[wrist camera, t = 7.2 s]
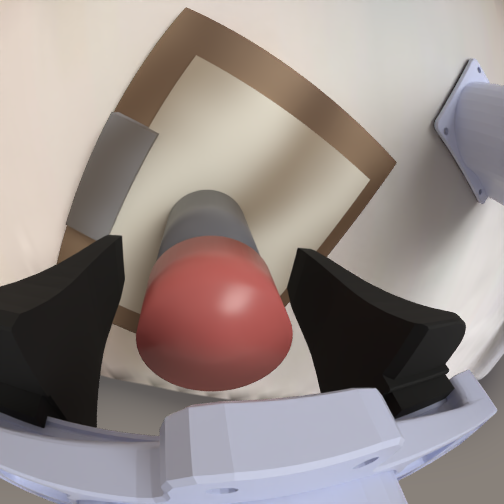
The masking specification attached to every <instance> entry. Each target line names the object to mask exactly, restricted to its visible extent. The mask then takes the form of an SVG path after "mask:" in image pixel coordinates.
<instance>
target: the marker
mask: <svg viewBox="0 0 504 504" xmlns="http://www.w3.org/2000/svg"><path fill="white" fill-rule="evenodd" d="M292 335H293V331H292V325H291V322H290V319H289V317H288V314H287V312H286V310H285V307H284V305H283V302H282V300H281V297H280V295H279V293H278V290H277V288H276V285H275V283H274V280H273V278H272V276H271V273H270V271H269V268H268V266H267V264H266V263H265V261H264V260H263V259H262V257H261V256H260V254H259V251H258V249H257V246H256V244H255V241H254V239H253V236H252V234H251V231H250V229H249V226H248V224H247V221H246V219H245V216H244V214H243V211H242V209H241V208H240V206H239V205H238V203H237V202H236V201H235V200H234V199H233V198H231V197H230V196H228V195H226V194H225V193H222V192H219V191H215V190H198V191H195V192H192V193H189V194H187V195H186V196H184V197H182V198H181V199H180V200H179V201H178V202H177V203H176V204H175V205H174V207H173V208H172V210H171V212H170V214H169V217H168V220H167V224H166V227H165V231H164V234H163V238H162V241H161V245H160V249H159V252H158V256H157V260H156V263H155V264H154V266H153V268H152V270H151V273H150V276H149V280H148V284H147V288H146V292H145V296H144V300H143V305H142V309H141V313H140V318H139V323H138V327H137V332H136V343H137V348H138V351H139V354H140V356H141V358H142V360H143V361H144V362H145V364H146V365H147V366H148V367H149V368H150V369H151V370H152V371H153V372H154V373H155V374H156V375H158V376H159V377H161V378H162V379H164V380H166V381H168V382H170V383H172V384H175V385H177V386H180V387H183V388H187V389H192V390H199V391H224V390H231V389H235V388H240V387H243V386H246V385H249V384H251V383H254V382H256V381H258V380H260V379H262V378H263V377H265V376H266V375H268V374H269V373H271V372H272V371H273V370H274V369H276V368H277V367H278V366H279V365H280V363H281V362H282V361H283V360H284V358H285V357H286V355H287V353H288V352H289V349H290V346H291V343H292Z"/></svg>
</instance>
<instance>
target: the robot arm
mask: <svg viewBox="0 0 504 504" xmlns="http://www.w3.org/2000/svg"><path fill="white" fill-rule="evenodd" d="M434 126H435V129H436V131H437V133H438V134H439V136H440V137H441V138H442V140H443V141H444V143H445V144H446V146H447V148H448V149H449V151H450V152H451V154H452V155H453V157H454V159H455V160H456V162H457V164H458V165H459V167H460V169H461V170H462V172H463V174H464V176H465V177H466V179H467V181H468V183H469V185H470V187H471V188H472V190H473V192H474V194H475V196H476V198H477V200H478V202H479V203H481V204H483V203H484V202H485V201H486V199H487V198H488V197H490V198H492V199H493V200H495V201H497V202H499V203H500V204H502V205H504V85H498V84H492V83H490V82H489V81H488V79H487V77H486V75H485V73H484V71H483V70H482V68H481V66H480V64H479V63H478V61H477V60H476V59H470V60H469V62H468V64H467V66H466V68H465V70H464V71H463V73H462V75H461V77H460V79H459V81H458V82H457V84H456V86H455V88H454V90H453V91H452V93H451V95H450V97H449V98H448V100H447V102H446V104H445V105H444V107H443V109H442V110H441V112H440V114H439V115H438V117H437V119H436V120H435V124H434ZM444 129H445V132H444ZM124 282H125V271H124V259H123V242H122V235H106V236H104V237H102V238H100V239H99V240H97V241H95V242H94V243H92V244H90V245H89V246H87V247H86V248H84V249H82V250H81V251H79V252H78V253H76V254H74V255H72V256H71V257H69V258H67V259H65V260H64V261H62V262H60V263H59V264H57V265H55V266H53V267H51V268H49V269H47V270H44V271H42V272H40V273H38V274H36V275H33V276H30V277H28V278H25V279H23V280H20V281H17V282H14V283H11V284H8V285H4V286H1V287H0V478H2V479H3V480H5V481H7V482H9V483H11V484H13V485H15V486H17V487H19V488H21V489H23V490H26V491H28V492H30V493H32V494H35V495H37V496H39V497H42V498H44V499H47V500H49V501H52V502H55V503H57V504H408V503H407V501H406V499H405V497H404V494H403V492H402V489H401V487H400V485H399V482H398V481H399V480H401V479H403V478H405V477H407V476H408V475H410V474H412V473H414V472H416V471H418V470H419V469H421V468H423V467H425V466H426V465H428V464H430V463H431V462H433V461H435V460H436V459H438V458H440V457H441V456H443V455H444V454H446V453H447V452H449V451H450V450H452V449H453V448H455V447H456V446H458V445H459V444H461V443H462V442H463V441H464V440H466V439H467V438H468V437H469V436H471V435H472V434H473V433H474V432H475V431H476V430H477V429H479V428H480V427H481V426H482V425H483V424H484V423H485V422H486V421H488V419H490V418H491V417H492V416H493V415H494V414H495V413H496V412H497V409H496V407H495V406H494V404H493V403H492V401H491V400H490V398H489V397H488V395H487V394H486V392H485V391H484V389H483V388H482V386H481V385H480V384H479V382H478V381H477V379H476V378H475V377H474V375H473V374H472V372H471V371H470V370H466V371H464V372H461V373H459V374H457V375H455V376H453V377H452V378H451V379H450V380H449V379H448V378H447V376H446V375H445V374H447V373H448V372H449V369H448V367H447V366H446V362H447V361H448V360H449V358H450V357H451V356H452V354H453V353H454V351H455V350H456V349H457V347H458V346H459V344H460V343H461V341H462V339H463V337H464V334H465V330H466V325H465V322H464V321H463V320H462V319H461V318H460V317H459V316H458V315H457V314H455V313H453V312H449V311H444V310H439V309H434V308H430V307H427V306H423V305H420V304H417V303H414V302H411V301H408V300H405V299H403V298H400V297H398V296H395V295H393V294H390V293H388V292H386V291H384V290H382V289H380V288H378V287H375V286H373V285H372V284H370V283H368V282H366V281H364V280H363V279H361V278H359V277H357V276H356V275H354V274H352V273H351V272H349V271H347V270H346V269H344V268H343V267H341V266H340V265H338V264H336V263H335V262H333V261H332V260H330V259H329V258H327V257H325V256H324V255H322V254H320V253H319V252H317V251H315V250H313V249H307V248H297V252H296V256H295V260H294V263H293V267H292V271H291V274H290V278H289V282H288V285H287V290H288V295H289V299H290V303H291V307H292V309H293V312H294V314H295V316H296V319H297V321H298V324H299V326H300V328H301V331H302V333H303V335H304V338H305V340H306V342H307V345H308V347H309V350H310V353H311V356H312V359H313V363H314V367H315V370H316V374H317V378H318V383H319V387H320V392H321V393H319V394H312V395H305V396H296V397H287V398H276V399H262V400H244V401H220V402H213V403H205V404H195V405H190V406H188V407H186V408H183V409H181V410H179V411H176V412H174V413H171V414H170V415H168V416H167V417H165V419H164V421H163V423H162V425H161V428H160V436H151V435H142V434H133V433H124V432H118V431H112V430H106V429H100V428H97V400H98V388H99V379H100V371H101V364H102V358H103V353H104V348H105V344H106V340H107V337H108V334H109V331H110V328H111V325H112V322H113V320H114V317H115V314H116V311H117V308H118V305H119V303H120V300H121V296H122V291H123V287H124Z"/></svg>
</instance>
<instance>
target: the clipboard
mask: <svg viewBox="0 0 504 504" xmlns="http://www.w3.org/2000/svg"><path fill="white" fill-rule="evenodd" d="M396 163H397V162H396V161H395V160H394V159H393V158H392V157H391V156H390V155H389V154H388V152H387V151H386V150H385V149H384V148H383V147H382V146H381V145H380V144H379V143H378V142H377V141H376V140H375V139H374V138H373V137H372V136H371V135H370V134H369V133H368V132H367V131H366V130H365V129H364V128H363V127H362V126H361V125H360V124H359V123H357V122H356V121H355V120H354V119H353V118H352V117H351V116H350V115H349V114H348V113H347V112H345V111H344V110H343V109H342V108H341V107H340V106H339V105H337V104H336V103H335V102H334V101H333V100H332V99H330V98H329V97H328V96H327V95H326V94H324V93H323V92H322V91H321V90H320V89H318V88H317V87H316V86H314V85H313V84H312V83H311V82H309V81H308V80H307V79H305V78H304V77H303V76H301V75H300V74H299V73H297V72H296V71H295V70H293V69H292V68H291V67H289V66H288V65H286V64H285V63H283V62H282V61H281V60H279V59H278V58H276V57H275V56H273V55H272V54H270V53H269V52H267V51H266V50H264V49H263V48H261V47H259V46H258V45H256V44H255V43H253V42H251V41H250V40H248V39H246V38H245V37H243V36H241V35H239V34H238V33H236V32H234V31H232V30H231V29H229V28H227V27H225V26H223V25H221V24H220V23H218V22H216V21H214V20H212V19H210V18H208V17H206V16H204V15H202V14H200V13H197V12H195V11H193V10H191V9H189V8H187V7H186V8H185V9H184V10H183V11H182V12H181V13H180V15H179V16H178V17H177V18H176V19H175V21H174V22H173V23H172V24H171V26H170V27H169V28H168V29H167V31H166V32H165V33H164V35H163V36H162V37H161V39H160V40H159V41H158V43H157V44H156V45H155V47H154V48H153V50H152V51H151V52H150V54H149V55H148V57H147V58H146V60H145V61H144V63H143V64H142V66H141V67H140V69H139V70H138V72H137V73H136V75H135V76H134V78H133V80H132V81H131V83H130V85H129V86H128V88H127V90H126V91H125V93H124V95H123V96H122V98H121V100H120V102H119V103H118V105H117V107H116V109H115V111H114V112H112V113H111V114H110V116H109V118H108V120H107V122H106V124H105V126H104V128H103V130H102V132H101V134H100V136H99V139H98V141H97V143H96V145H95V147H94V149H93V152H92V154H91V156H90V159H89V161H88V163H87V166H86V168H85V171H84V173H83V176H82V178H81V181H80V183H79V186H78V189H77V192H76V194H75V197H74V200H73V203H72V206H71V209H70V212H69V215H68V218H67V222H66V225H67V227H66V231H65V234H64V238H63V241H62V245H61V249H60V253H59V257H58V261H57V264H59V263H60V262H62V261H64V260H65V259H67V258H69V257H71V256H72V255H74V254H76V253H78V252H79V251H81V250H82V249H84V248H86V247H87V246H89V245H90V244H92V243H94V242H95V241H97V240H99V239H100V238H102V237H104V236H106V235H122V242H123V259H124V271H125V282H124V287H123V291H122V296H121V300H120V303H119V305H118V308H117V311H116V314H115V317H114V320H113V322H112V323H113V324H115V325H117V326H119V327H122V328H124V329H126V330H129V331H131V332H134V333H136V332H137V327H138V323H139V318H140V313H141V309H142V305H143V300H144V296H145V292H146V288H147V284H148V280H149V276H150V273H151V270H152V268H153V266H154V264H155V263H156V260H157V256H158V252H159V249H160V245H161V241H162V238H163V234H164V231H165V227H166V224H167V220H168V217H169V214H170V212H171V210H172V208H173V207H174V205H175V204H176V203H177V202H178V201H179V200H180V199H181V198H182V197H184V196H186V195H187V194H189V193H192V192H195V191H198V190H215V191H219V192H222V193H225V194H226V195H228V196H230V197H231V198H233V199H234V200H235V201H236V202H237V203H238V205H239V206H240V208H241V209H242V211H243V214H244V216H245V219H246V221H247V224H248V226H249V229H250V231H251V234H252V236H253V239H254V241H255V244H256V246H257V249H258V251H259V254H260V256H261V257H262V259H263V260H264V261H265V263H266V264H267V266H268V268H269V271H270V273H271V276H272V278H273V280H274V283H275V285H276V288H277V290H278V293H279V295H280V297H281V300H282V302H283V305H284V307H285V306H286V305H287V304H288V303H289V302H290V299H289V295H288V290H287V285H288V282H289V278H290V274H291V271H292V267H293V263H294V260H295V256H296V252H297V248H307V249H313V250H315V251H317V252H319V253H320V254H322V255H324V256H325V257H327V256H328V255H329V253H330V252H331V251H332V250H333V248H334V247H335V246H336V244H337V243H338V242H339V241H340V239H341V238H342V237H343V236H344V234H345V233H346V232H347V230H348V229H349V228H350V226H351V225H352V224H353V222H354V221H355V220H356V219H357V217H358V216H359V215H360V213H361V212H362V211H363V209H364V208H365V207H366V205H367V204H368V202H369V201H370V200H371V198H372V197H373V196H374V194H375V193H376V192H377V190H378V189H379V187H380V186H381V185H382V183H383V182H384V180H385V179H386V178H387V176H388V175H389V173H390V172H391V170H392V169H393V168H394V166H395V165H396Z"/></svg>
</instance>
